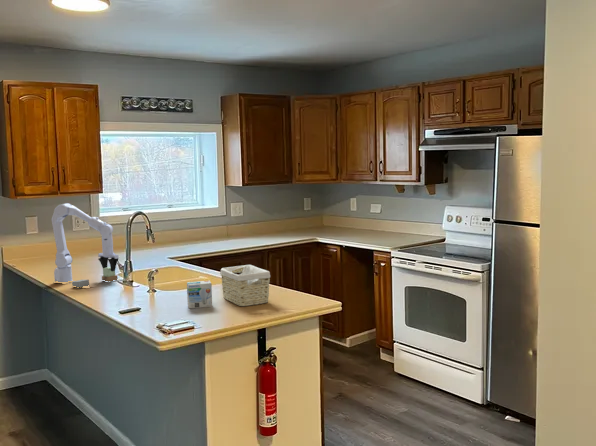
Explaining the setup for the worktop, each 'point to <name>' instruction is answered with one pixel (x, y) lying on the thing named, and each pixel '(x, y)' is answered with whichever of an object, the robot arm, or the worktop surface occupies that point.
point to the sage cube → (108, 272)
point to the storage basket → (245, 285)
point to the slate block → (80, 283)
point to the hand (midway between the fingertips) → (109, 270)
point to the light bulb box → (199, 294)
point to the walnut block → (109, 278)
